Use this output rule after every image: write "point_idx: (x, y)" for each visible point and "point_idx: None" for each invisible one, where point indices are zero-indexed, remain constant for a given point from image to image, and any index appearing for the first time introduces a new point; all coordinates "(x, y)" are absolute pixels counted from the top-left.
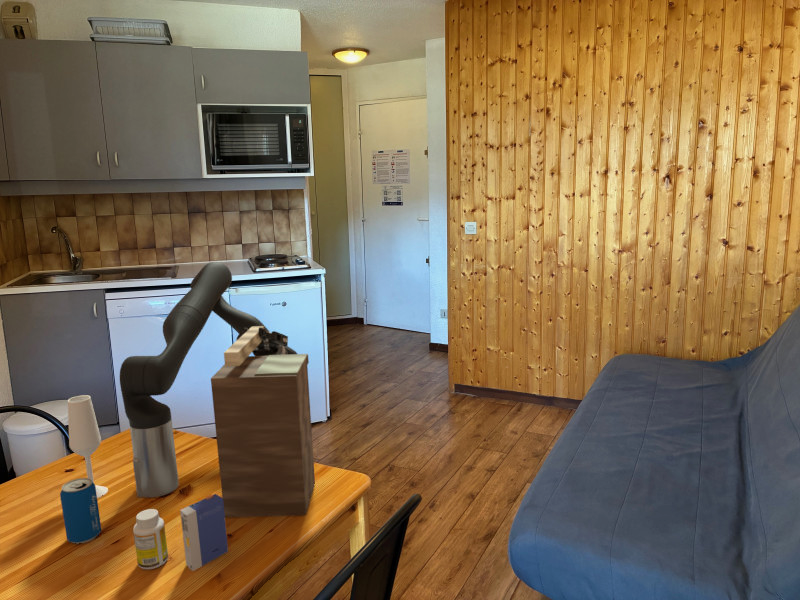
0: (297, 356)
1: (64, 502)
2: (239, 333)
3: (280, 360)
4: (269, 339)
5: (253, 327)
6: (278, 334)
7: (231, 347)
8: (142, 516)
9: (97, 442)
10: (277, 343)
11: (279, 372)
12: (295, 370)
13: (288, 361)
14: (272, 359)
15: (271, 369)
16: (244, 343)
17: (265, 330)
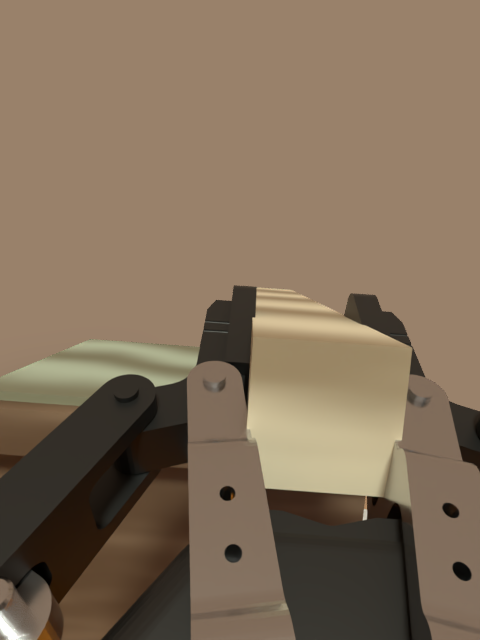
0: (37, 380)
1: None
2: None
3: (123, 372)
4: (181, 452)
5: (359, 334)
6: (72, 434)
7: (289, 292)
8: (366, 513)
9: None
10: (88, 550)
11: (138, 343)
12: (91, 343)
13: (94, 366)
14: (156, 379)
15: (160, 351)
16: (260, 292)
17: (207, 316)
